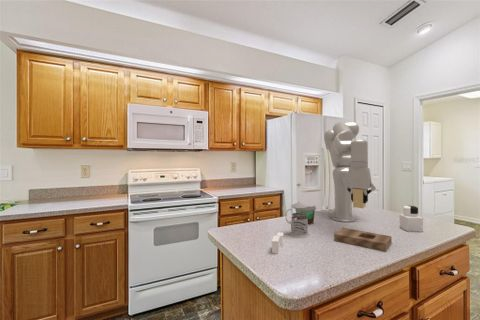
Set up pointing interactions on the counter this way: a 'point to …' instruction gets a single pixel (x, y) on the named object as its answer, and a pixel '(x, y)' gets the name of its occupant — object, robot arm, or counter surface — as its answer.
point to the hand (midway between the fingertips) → (359, 201)
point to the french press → (299, 221)
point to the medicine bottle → (411, 219)
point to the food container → (307, 213)
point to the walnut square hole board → (363, 239)
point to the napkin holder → (277, 243)
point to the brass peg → (358, 198)
